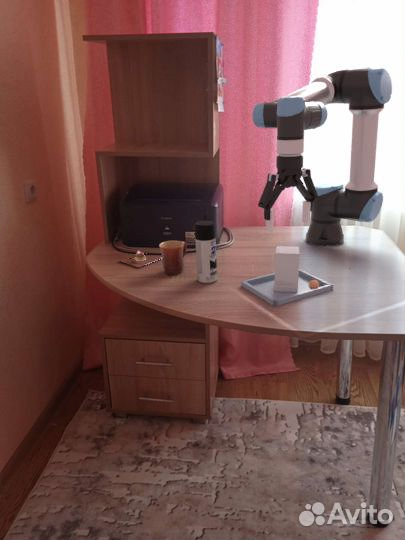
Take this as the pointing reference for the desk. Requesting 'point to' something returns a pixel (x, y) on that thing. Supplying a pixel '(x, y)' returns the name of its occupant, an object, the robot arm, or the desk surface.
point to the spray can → (206, 251)
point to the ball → (313, 284)
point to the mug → (173, 256)
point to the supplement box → (286, 269)
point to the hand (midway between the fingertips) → (288, 226)
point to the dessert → (141, 257)
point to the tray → (265, 290)
